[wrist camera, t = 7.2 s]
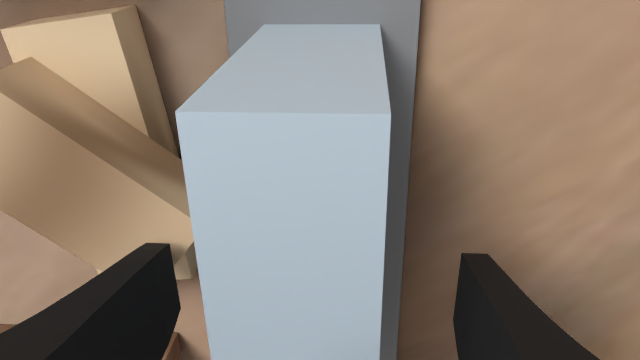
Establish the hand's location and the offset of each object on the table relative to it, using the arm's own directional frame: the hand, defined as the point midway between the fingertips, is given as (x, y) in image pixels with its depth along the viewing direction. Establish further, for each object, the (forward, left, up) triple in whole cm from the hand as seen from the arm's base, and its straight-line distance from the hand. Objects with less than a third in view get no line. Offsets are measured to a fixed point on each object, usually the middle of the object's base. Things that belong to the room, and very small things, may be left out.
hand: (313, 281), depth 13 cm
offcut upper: (+2, +6, -2) cm, 7 cm away
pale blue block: (0, 0, -3) cm, 3 cm away
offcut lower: (+2, +6, -4) cm, 8 cm away
